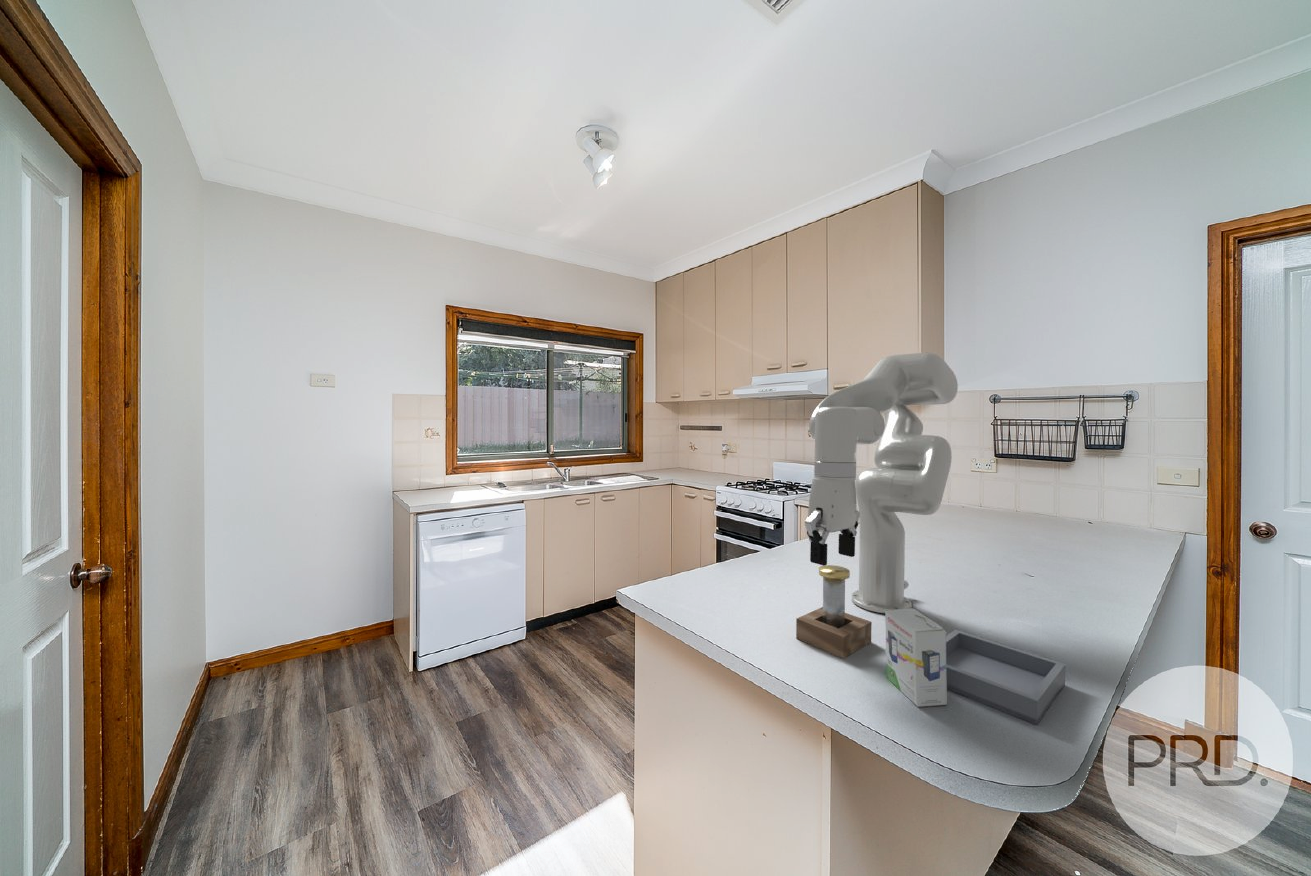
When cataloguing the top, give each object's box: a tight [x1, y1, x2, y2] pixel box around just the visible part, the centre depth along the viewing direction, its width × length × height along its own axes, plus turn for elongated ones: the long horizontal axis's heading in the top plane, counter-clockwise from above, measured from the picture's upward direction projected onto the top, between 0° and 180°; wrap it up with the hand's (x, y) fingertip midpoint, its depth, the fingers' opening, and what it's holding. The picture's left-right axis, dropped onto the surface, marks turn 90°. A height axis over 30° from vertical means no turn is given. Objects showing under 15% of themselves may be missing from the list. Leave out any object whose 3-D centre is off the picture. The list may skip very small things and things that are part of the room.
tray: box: [946, 629, 1067, 726], centre depth 78 cm, size 16×16×4 cm
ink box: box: [884, 608, 948, 708], centre depth 75 cm, size 9×5×12 cm, turn 5°
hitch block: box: [795, 606, 872, 659], centre depth 92 cm, size 10×10×4 cm
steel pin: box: [818, 564, 851, 628], centre depth 92 cm, size 6×6×14 cm
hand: (832, 559), depth 91 cm, fingers open, 9 cm apart
